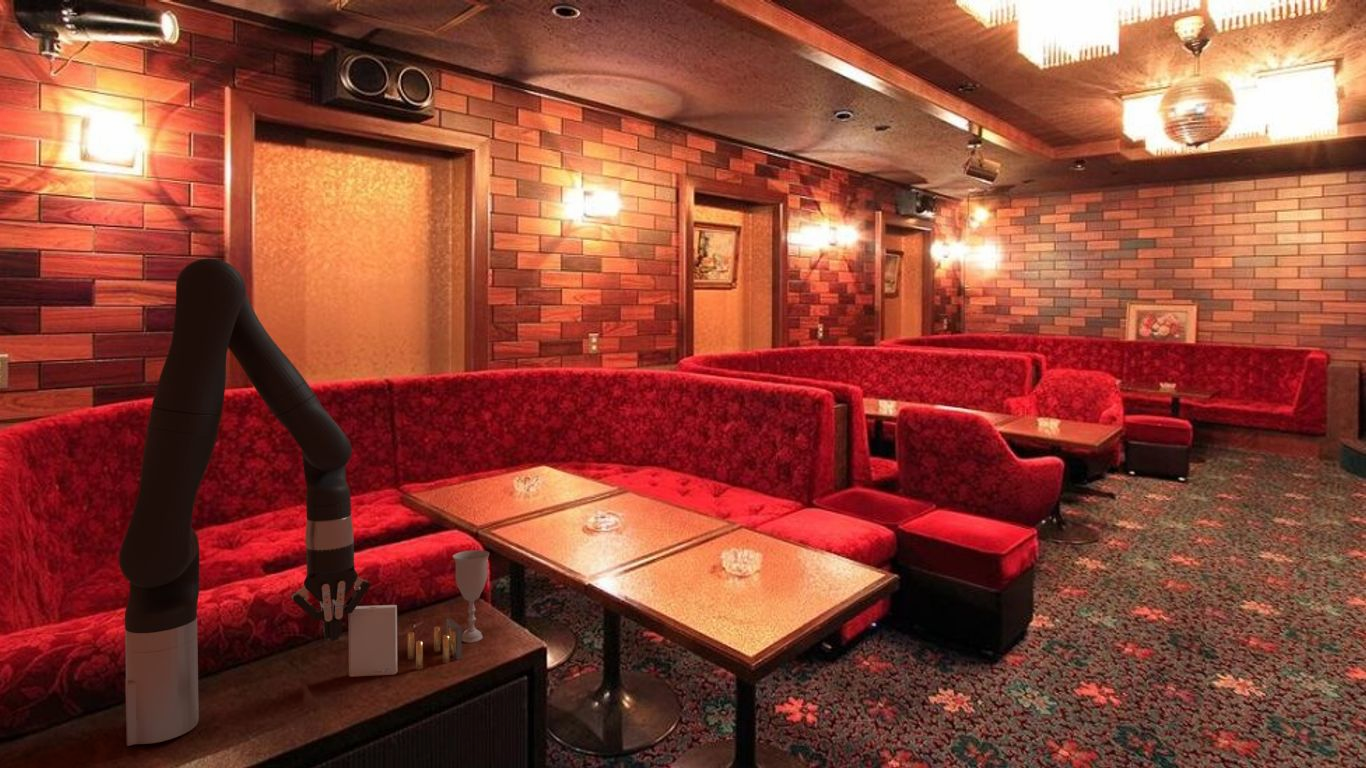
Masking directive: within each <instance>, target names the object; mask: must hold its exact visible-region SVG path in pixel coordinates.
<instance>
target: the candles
mask: <svg viewBox="0 0 1366 768" xmlns="http://www.w3.org/2000/svg"><path fill="white" fill-rule="evenodd" d="M445 620H446V622H445V623H446V624H445V625H446V634H444V635H442V663H443V664H448V663H450V659H451V658H450V652H451V653H452V657H453V658H455V659H456V660H457V661H459V660H462V640H461V637H462V634H463V631H462V629H463V628H462V626H461V625H460V624H458V622H456V621H455V620H454V619H453V618H452V617H446V619H445ZM423 643H424V642H423V640H417V641H416V642H415V632H413V631H410V632H408V633H407V659H408V660H413V659H415V670H418V671H420V670H423V668H424V646H423V645H424V644H423ZM433 650H434V652H435V653H436V652H437V653H438V652H440V651H441V626H434V627H433Z"/></svg>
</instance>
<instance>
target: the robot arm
mask: <svg viewBox="0 0 1366 768" xmlns="http://www.w3.org/2000/svg"><path fill="white" fill-rule="evenodd" d="M174 309H175V311H174V322H173V332H172V337H171V343H170V347H169V351H168V353H167V356H166V358H165V360H164V365H163V366H162V369H161V372H160V375H159V378H158V382H157V385H156V388H155V392H154V395H153V396H154V397H153V400H152V403H151V408H150V412H149V413H150V414H149V417H148V422H147V427H146V434H145V441H144V446H143V447H144V448H143V455H142V461H141V468H140V469H141V470H140V481H139V488H138V494H137V498H136V500H135V506H134V507H133V508H134V509H133V512H132V515H131V517H130V518H131V519H130V522H129V525H128V527H127V530H126V533H125V536H124V539H123V542H122V544H121V546H120V550H119V554H118V565H119V568H120V572H121V573H122V575H123V576H124V578H125V579H126V580H127V581H128V582H129V594H128V600H127V604H126V609H125V612H124V635H125V636H124V637H125V638H124V639H125V641H124V642H125V717H126V718H125V722H126V726H125V727H126V729H125V731H126V734H125V735H126V746H127V747H128V746H129V747H130V746H133V745H134V746H135V745H146V744H148V745H149V744H157V743H161V742H165V741H169V740H172V739H174V738H177V737H180V736H182V735H184V734H186V733H188V732H190V731H191V730H194V728H195V727H196V726H197V725H198V723H199V713H200V712H199V709H200V707H199V675H198V674H199V667H198V666H199V663H198V661H199V659H198V658H199V657H198V653H199V652H198V651H199V650H198V603H199V602H198V601H199V595H200V542H199V537H198V534H197V532H196V531H195V529H194V528H193V527H192V523H193V522H192V520H193V511H194V507H195V502H196V498H197V494H198V491H199V489H200V485H201V483H202V482H203V481H202V480H203V479H204V476H205V473H206V471H207V469H208V466H209V464H210V461H211V459H212V455H213V453H214V450H215V449H214V448H215V445H216V442H217V438H218V435H219V430H220V424H221V420H222V414H223V409H224V403H225V394H226V393H225V391H226V379H227V378H226V375H227V356H228V350H230V352H231V353H232V355H233V357H234V358H235V359H236V360H237V362H238V363H239V365H240V367H241V369H242V371H244V373H245V375H246V376H247V378H248V379H249V381H250V382H251V384H252V385H253V387H254V389H255V390H256V392H257V393H258V395H259V396H260V397H261V399H262V400H263V401H264V403H265V405H266V406H267V407H268V409H269V410H270V412H271V413H272V414H273V416H274V417H275V418H276V419H277V421H278V422H279V423H280V424H281V425H282V426H283V427H284V428H285V429H286V430H287V431H288V432H289V433H290V435H291V436H292V438H293V440H295V443H297V445H298V446H299V448H300V449H301V451H302V465H303V466H302V467H303V473H304V482H305V486H306V496H305V497H306V498H305V500H306V501H305V505H306V506H305V507H306V509H305V510H306V525H305V538H304V544H305V551H306V552H305V555H306V556H305V557H306V558H305V559H306V577H305V579H304V581H303V586H302V587H301V588H300V589H299V590H297V591H294V592H292V593H291V594H290V597H291V600H292V601H293V602H294V603H295V604H296V605H297V606H298V607H299V608H301V609H302V611H304V612H305V613H307V615H308V616H310V617H311V618H312V619H313V620H314V621H322V631H323V633H322V634H323V637H324V638H325V639H326V640H327V641H328V642H329V643H330V642H334V641H335V642H336V641H339V638H340V637H341V636H342V634H343V618H344V616H346V615H348V613H349V614H350V613H352V612H353V611H354V609H355V608H356V606H359V603H360V602H361V601H362V599H363V598H364V596H365V595H366V594H367V592H368V590H369V589H370V588H371V583H370V582H369V581H368V579H365V578H361V577H359V575H358V572H357V571H356V569H355V546H354V545H355V542H354V540H355V539H354V526H353V525H354V524H353V520H352V503H351V500H352V499H351V498H352V497H351V490H350V489H351V488H350V486H349V484H348V483H347V475H346V473H347V472H346V471H347V470H346V465H347V464H348V463H349V462H350V459H351V457H352V453H353V450H352V444H351V440H350V439H349V438H348V436H347V434H346V433H345V432H344V431H343V430H342V429H341V427H340V426H339V425H338V424H337V422H336V421H335V420H334V419H333V417H331V415H330V414H329V412H327V410H325V409H324V406H323V405H322V403H321V402H320V400H319V399H318V396H317V395H316V394H315V392H314V391H313V389H312V388H311V386H310V385H309V384H308V382H307V381H306V380H305V379H304V377H303V376H302V374H301V373H300V371H299V370H298V369H297V368H296V366H295V365H294V364H293V363H292V362H291V360H290V359H289V358H288V356H287V355H286V354H284V352H283V350H282V349H281V348H280V347H279V346H278V345H277V343H275V341H274V340H273V338H272V336H270V335H269V333H268V332H267V330H266V328H264V326H263V324H262V323H261V320H259V318H258V315H256V312H255V310H254V308H253V306H252V305H251V302H250V300H249V298H248V295H247V287H246V281H245V280H244V278H243V276H242V275H241V273H240V272H239V271H238V270H237V269H236V268H235V267H234V266H233V265H232V264H230V263H228V262H226V261H224V260H221V259H217V258H209V257H208V258H202V259H196V260H194V261H192V262H190V263H188V264H187V265H186V266H185V267H184V268H183V269H182V270H181V271H180V272H179V274H178V276H177V279H176V282H175V308H174ZM352 588H353V589H354V590H353V592H352V593H351V594H350V596H349V597H348V599H347V600H346V601H345V597H346V596H347V595H348V593H350V590H351V589H352ZM308 592H309V593H310V594H311V595H312V596H313V597H314V599H316V600H318V602H319V604H320V608H321V609H320V610H318V609H317V608H316V607H314V606H313V605H312V604H311V603H310V602H309V601H308V600H309V598H310V597H309V595H308Z"/></svg>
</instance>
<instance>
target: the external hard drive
mask: <svg viewBox="0 0 1366 768" xmlns="http://www.w3.org/2000/svg"><path fill="white" fill-rule="evenodd" d="M347 615H348V617H347V619H348V677H351V678H352V677H353V678H354V677H366V676H367V677H370V676H373V677H374V676H390V675H396V674H397V673H398V605H397V604H388V605H387V604H385V605H384V604H383V605H381V604H380V605H357V606H356V608H355V609H354V611H353V612H352V613H350V614H349V613H348V614H347Z"/></svg>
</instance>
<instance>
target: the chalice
mask: <svg viewBox="0 0 1366 768" xmlns="http://www.w3.org/2000/svg"><path fill="white" fill-rule="evenodd" d="M489 556H490V551H487V550H481V549H480V550H477V549H475V550H474V549H473V550H465V551H460V552H457V553H455V554H453V555H452V558H453V560H454V562H455V582H456V585H457V587H458V590H459V592H460V594H461V596H462V598H463V599H464V600H465V601H468V604H469V605H468V609H467V612H468V617H467V619H466V620H467V621H468V624H469V625H468V628H467V629H465V630H464V631H463V632H462V634H461V642H464V643H465V644H466V643H467V644H475V643H476V642H479V641H480V640H482V639H483V635H482V632H481V631H480V630H479V629H478V628H476V627H475V622H476V620H477V618H476V617H475V612H476V607H475V601H476V600H478V599H479V598H480V596H481V594H482V592H483V590H484V588H485V585H486V582H487V580H488V559H489Z"/></svg>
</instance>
